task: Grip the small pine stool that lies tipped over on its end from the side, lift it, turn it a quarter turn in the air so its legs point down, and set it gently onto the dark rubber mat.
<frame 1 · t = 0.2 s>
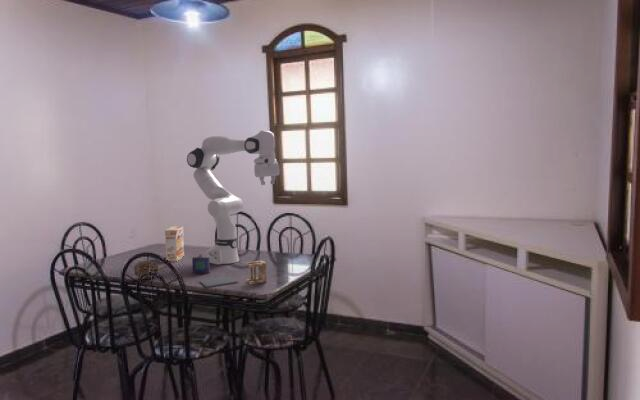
hand: (267, 184, 262), 48 cm above the table, tool pointing down, fingers open, 8 cm apart
coffeecake box: (175, 259, 290), on the table
flask: (201, 273, 256), on the table
mat: (218, 282, 237), on the table
pine cone: (153, 277, 248), on the table
stool: (262, 271, 239), point 5 cm above the table
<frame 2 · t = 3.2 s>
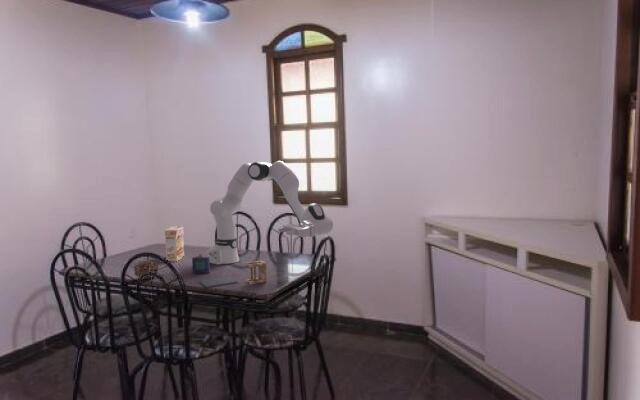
hand: (282, 231, 243), 24 cm above the table, tool horizontal, fingers open, 8 cm apart
nothing on the table moved.
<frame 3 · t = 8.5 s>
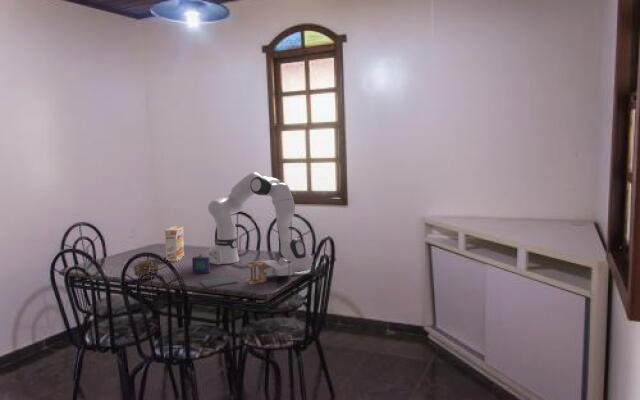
hand: (260, 269, 239), 6 cm above the table, tool horizontal, fingers closed on stool, 5 cm apart
stool: (262, 271, 239), point 5 cm above the table, touching gripper
everything else where it was.
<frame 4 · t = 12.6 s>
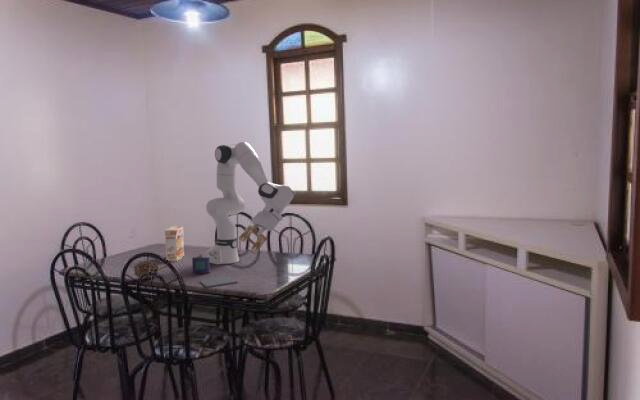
hand: (254, 233, 236), 25 cm above the table, tool tilted 45°, fingers closed on stool, 5 cm apart
stool: (257, 233, 237), point 25 cm above the table, tilted 47°, touching gripper
everything else where it was.
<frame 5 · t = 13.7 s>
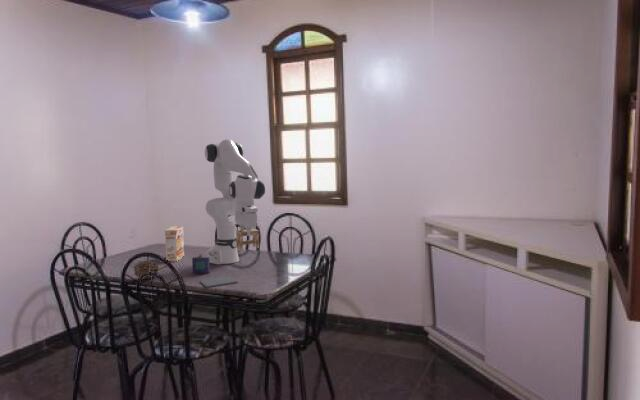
hand: (245, 234, 235), 25 cm above the table, tool pointing down, fingers closed on stool, 5 cm apart
stool: (247, 232, 236), point 25 cm above the table, tilted 90°, touching gripper
everything else where it was.
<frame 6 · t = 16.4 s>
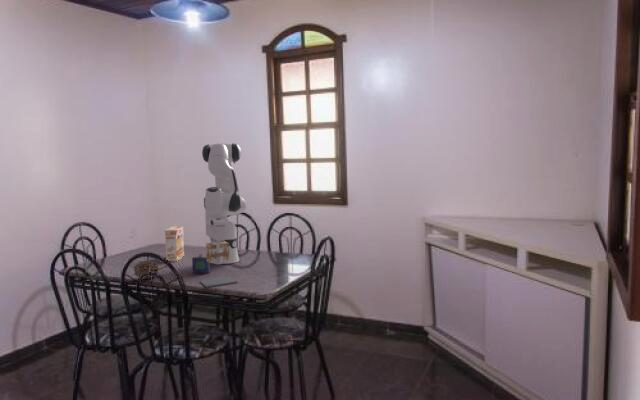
hand: (215, 247, 234), 19 cm above the table, tool pointing down, fingers closed on stool, 5 cm apart
stool: (217, 245, 235), point 19 cm above the table, tilted 90°, touching gripper
everything else where it was.
when the fingers open (10 cm above the table, at t = 18.8 s): stool drops 2 cm, resting on mat.
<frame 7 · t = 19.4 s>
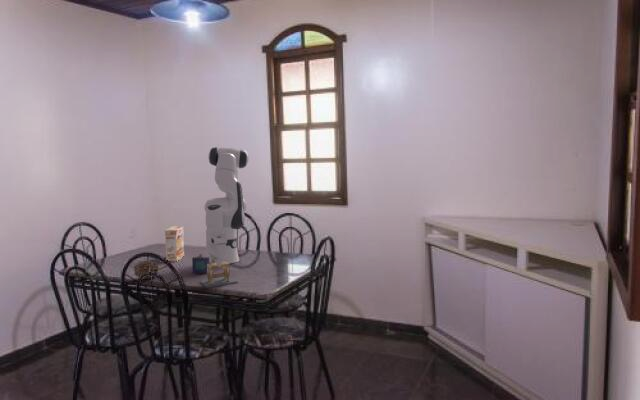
hand: (216, 264, 235), 10 cm above the table, tool pointing down, fingers open, 8 cm apart
stool: (218, 265, 236), point 9 cm above the table, tilted 90°, touching mat
everything else where it was.
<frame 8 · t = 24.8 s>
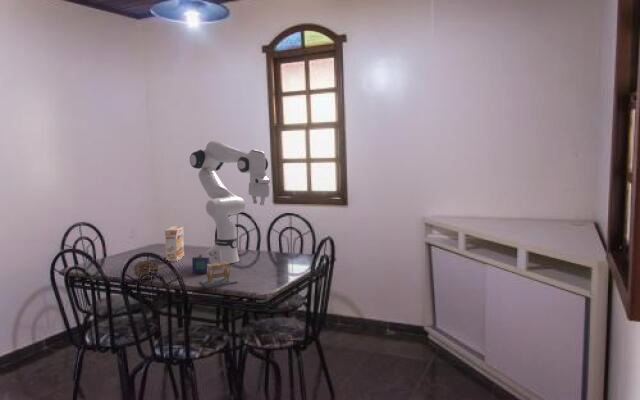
hand: (258, 204, 257), 37 cm above the table, tool pointing down, fingers open, 8 cm apart
nothing on the table moved.
at the end: stool tilted 90°; stool inside the target area on the mat (0.2 cm from its centre), point 8.8 cm above the mat's base; the gripper is holding nothing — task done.
